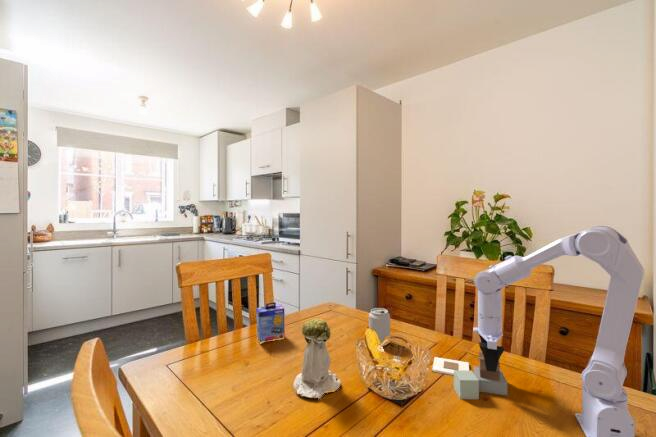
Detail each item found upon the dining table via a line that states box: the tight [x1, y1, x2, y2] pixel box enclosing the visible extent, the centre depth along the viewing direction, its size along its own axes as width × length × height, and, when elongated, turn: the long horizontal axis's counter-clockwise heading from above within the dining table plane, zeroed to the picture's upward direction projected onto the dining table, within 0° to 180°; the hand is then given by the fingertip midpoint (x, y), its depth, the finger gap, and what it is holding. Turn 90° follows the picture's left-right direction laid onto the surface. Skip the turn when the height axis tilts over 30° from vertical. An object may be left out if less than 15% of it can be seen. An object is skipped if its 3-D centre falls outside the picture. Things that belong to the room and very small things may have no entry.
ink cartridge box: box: [255, 301, 286, 342], centre depth 116 cm, size 10×6×14 cm, turn 115°
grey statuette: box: [292, 318, 341, 400], centre depth 86 cm, size 12×13×18 cm
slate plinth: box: [473, 365, 508, 396], centre depth 84 cm, size 7×7×4 cm
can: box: [368, 307, 391, 343], centre depth 111 cm, size 8×8×12 cm
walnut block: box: [478, 350, 501, 380], centre depth 84 cm, size 5×5×5 cm
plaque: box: [431, 356, 470, 376], centre depth 93 cm, size 8×10×1 cm
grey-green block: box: [453, 370, 480, 400], centre depth 81 cm, size 5×5×5 cm
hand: (489, 363), depth 84 cm, fingers open, 7 cm apart
